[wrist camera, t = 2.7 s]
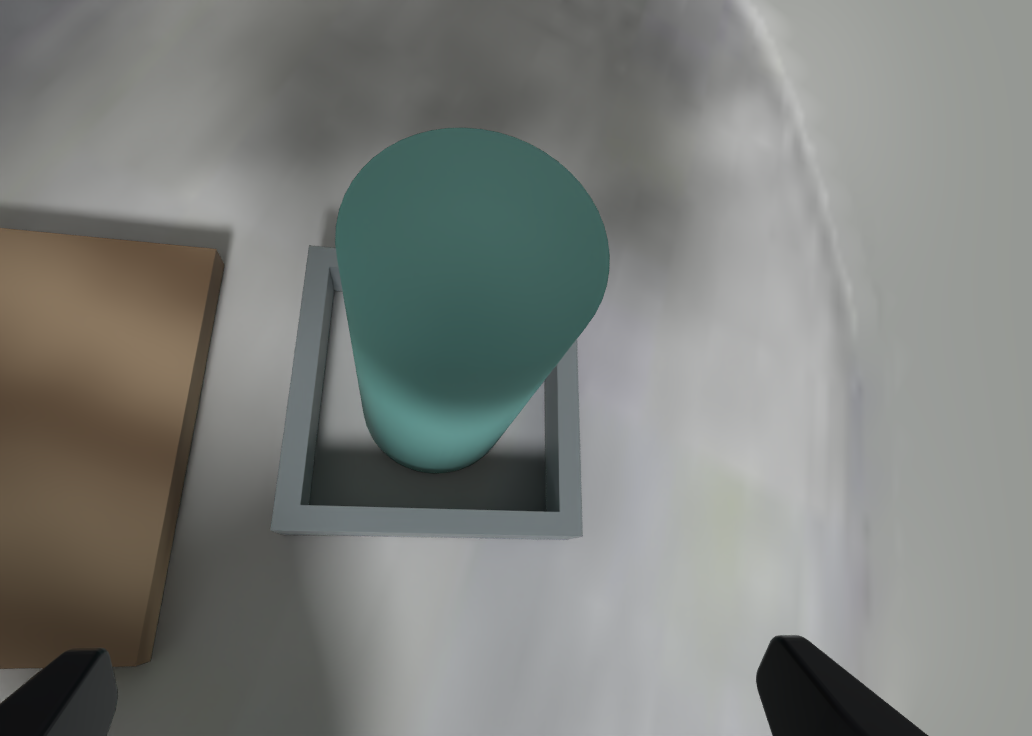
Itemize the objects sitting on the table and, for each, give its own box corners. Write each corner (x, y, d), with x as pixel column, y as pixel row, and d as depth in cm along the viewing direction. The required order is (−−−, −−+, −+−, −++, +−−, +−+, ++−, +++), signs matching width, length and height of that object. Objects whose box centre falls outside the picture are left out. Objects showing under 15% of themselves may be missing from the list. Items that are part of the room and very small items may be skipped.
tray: (566, 539, 23) (582, 536, 21) (281, 534, 21) (270, 530, 19) (561, 293, 26) (574, 272, 24) (315, 270, 24) (309, 245, 22)
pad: (150, 660, 19) (135, 666, 18) (-277, 668, 17) (-324, 674, 16) (224, 264, 23) (216, 249, 22) (-105, 233, 22) (-132, 215, 20)
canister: (507, 476, 23) (615, 380, 12) (356, 470, 22) (319, 360, 11) (508, 339, 25) (604, 146, 14) (369, 328, 24) (349, 110, 13)
